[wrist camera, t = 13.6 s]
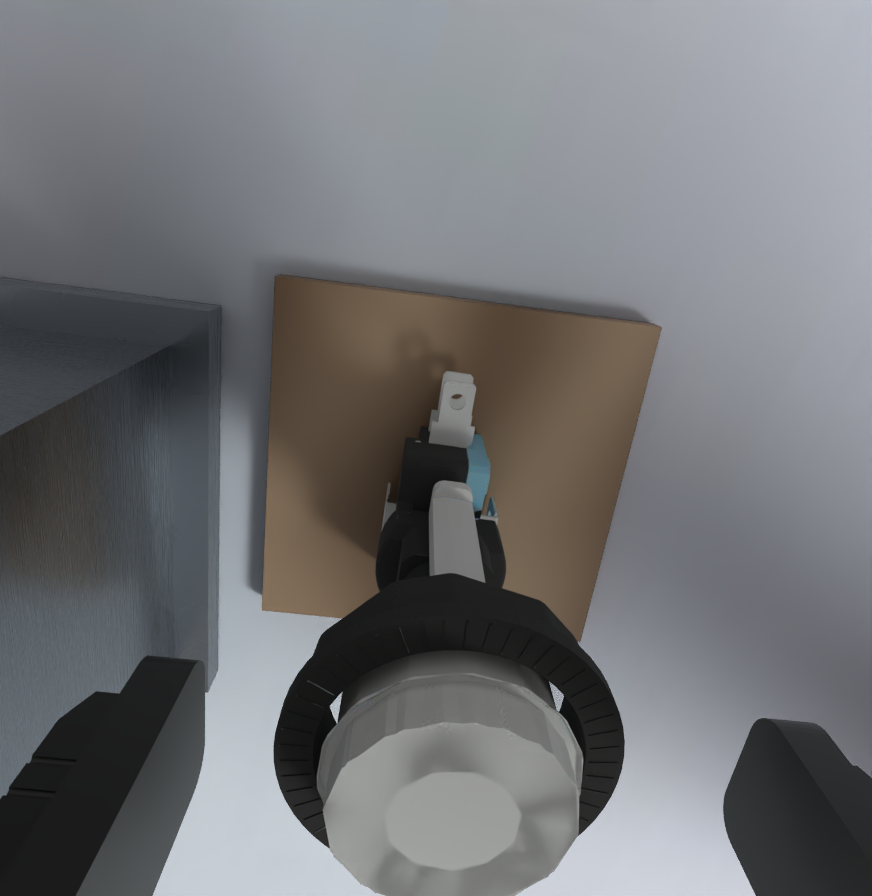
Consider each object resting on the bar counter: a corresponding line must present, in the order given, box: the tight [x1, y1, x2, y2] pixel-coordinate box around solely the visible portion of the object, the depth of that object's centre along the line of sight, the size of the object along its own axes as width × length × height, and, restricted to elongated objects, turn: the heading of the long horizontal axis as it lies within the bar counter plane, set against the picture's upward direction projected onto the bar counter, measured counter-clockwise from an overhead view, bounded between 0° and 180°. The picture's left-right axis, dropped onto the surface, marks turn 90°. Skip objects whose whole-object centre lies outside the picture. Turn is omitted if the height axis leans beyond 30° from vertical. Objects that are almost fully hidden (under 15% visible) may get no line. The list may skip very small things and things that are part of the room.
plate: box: [262, 274, 661, 641], centre depth 18 cm, size 10×10×1 cm
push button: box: [274, 371, 625, 896], centre depth 13 cm, size 7×5×10 cm
